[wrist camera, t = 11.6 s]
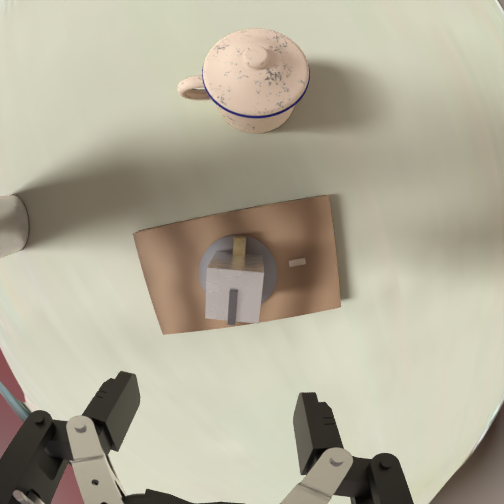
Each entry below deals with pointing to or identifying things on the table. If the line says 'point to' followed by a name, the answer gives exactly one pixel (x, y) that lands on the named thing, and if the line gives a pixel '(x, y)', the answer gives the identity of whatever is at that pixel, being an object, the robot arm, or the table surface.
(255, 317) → the white block
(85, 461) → the robot arm
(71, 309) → the table surface
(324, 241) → the walnut base
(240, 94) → the teacup with lid
